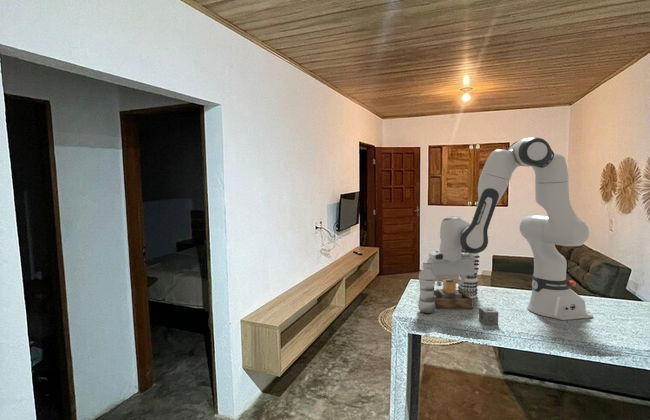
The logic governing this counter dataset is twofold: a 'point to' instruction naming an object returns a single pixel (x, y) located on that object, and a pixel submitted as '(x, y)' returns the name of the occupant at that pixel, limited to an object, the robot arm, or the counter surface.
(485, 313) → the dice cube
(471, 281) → the decorative candle
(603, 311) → the counter surface
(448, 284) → the block
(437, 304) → the walled box
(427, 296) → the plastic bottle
